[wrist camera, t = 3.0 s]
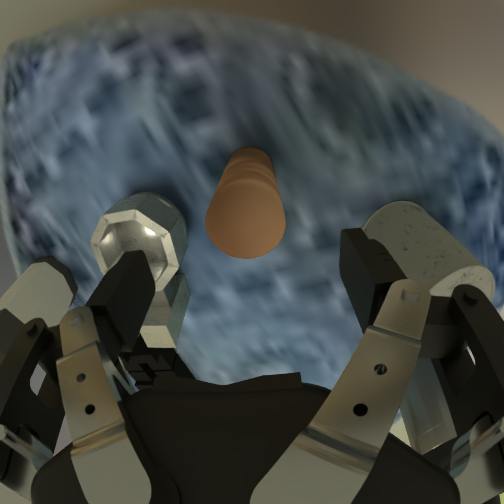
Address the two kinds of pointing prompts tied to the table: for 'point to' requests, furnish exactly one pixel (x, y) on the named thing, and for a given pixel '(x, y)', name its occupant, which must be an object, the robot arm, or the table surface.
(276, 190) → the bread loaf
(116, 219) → the mug
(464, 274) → the speckled stone cylinder
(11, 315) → the wine bottle
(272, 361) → the table surface
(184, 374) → the toy
